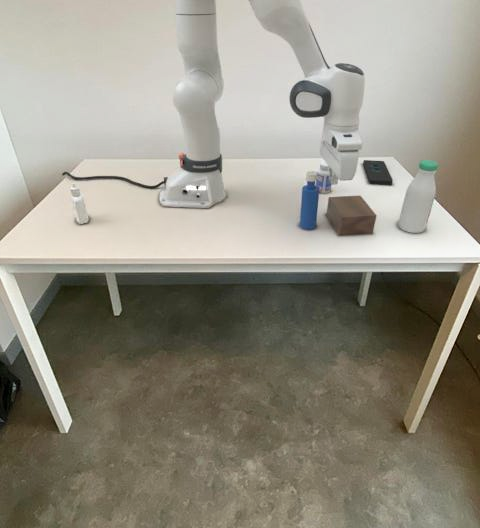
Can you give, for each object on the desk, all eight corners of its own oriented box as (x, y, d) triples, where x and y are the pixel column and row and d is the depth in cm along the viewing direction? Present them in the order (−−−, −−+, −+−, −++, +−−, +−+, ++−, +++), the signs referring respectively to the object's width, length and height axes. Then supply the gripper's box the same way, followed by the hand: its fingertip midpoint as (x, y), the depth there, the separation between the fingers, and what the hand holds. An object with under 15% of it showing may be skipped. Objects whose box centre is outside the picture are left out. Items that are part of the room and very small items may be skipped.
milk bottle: (421, 236, 116) (441, 170, 105) (394, 229, 120) (411, 164, 108) (427, 225, 122) (447, 160, 110) (401, 218, 125) (417, 155, 113)
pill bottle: (330, 187, 144) (333, 160, 138) (331, 193, 139) (335, 166, 134) (314, 186, 144) (317, 160, 138) (315, 193, 140) (318, 166, 134)
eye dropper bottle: (72, 224, 122) (62, 187, 115) (79, 215, 126) (69, 179, 119) (86, 224, 121) (77, 187, 115) (93, 215, 126) (84, 179, 119)
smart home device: (384, 160, 160) (393, 180, 144) (383, 164, 161) (392, 185, 145) (362, 159, 161) (369, 179, 145) (362, 163, 162) (368, 184, 146)
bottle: (308, 236, 120) (276, 203, 113) (304, 228, 124) (273, 196, 117) (345, 207, 116) (315, 170, 109) (340, 200, 120) (310, 164, 113)
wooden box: (339, 235, 116) (342, 217, 113) (326, 214, 127) (328, 196, 124) (372, 233, 117) (376, 215, 114) (357, 212, 128) (360, 195, 124)
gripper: (317, 122, 114) (312, 168, 122) (340, 146, 97) (332, 198, 105) (339, 121, 115) (332, 168, 122) (365, 145, 98) (355, 197, 106)
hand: (332, 182), depth 114 cm, fingers closed
